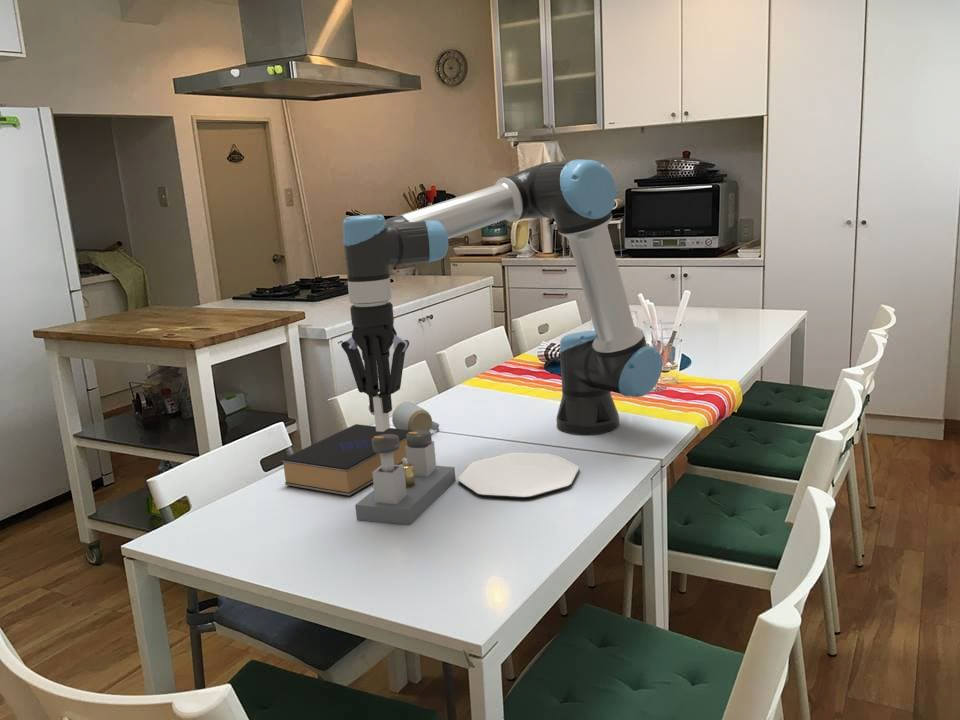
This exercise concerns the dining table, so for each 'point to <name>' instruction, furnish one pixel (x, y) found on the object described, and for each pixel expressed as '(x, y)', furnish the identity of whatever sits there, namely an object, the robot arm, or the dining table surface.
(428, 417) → the ceramic mug
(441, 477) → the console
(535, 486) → the plate
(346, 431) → the book
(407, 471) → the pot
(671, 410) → the dining table surface
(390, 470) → the knob
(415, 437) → the knob
